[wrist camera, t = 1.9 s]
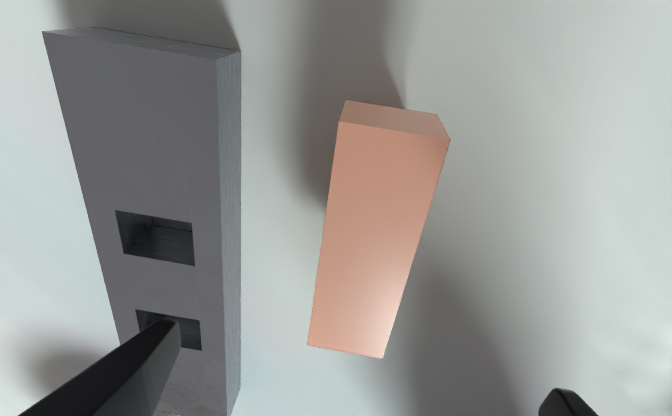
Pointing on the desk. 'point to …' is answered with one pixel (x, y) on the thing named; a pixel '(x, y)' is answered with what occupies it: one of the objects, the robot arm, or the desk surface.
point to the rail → (162, 193)
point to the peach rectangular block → (373, 223)
